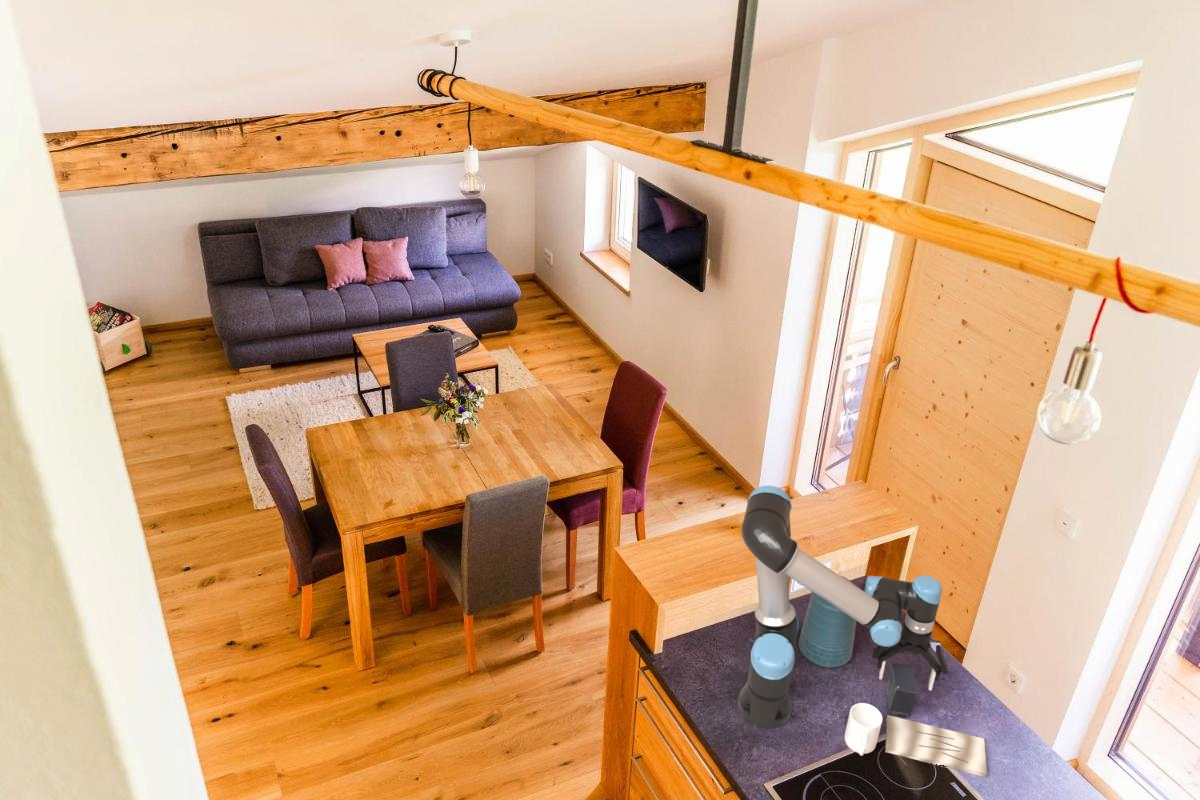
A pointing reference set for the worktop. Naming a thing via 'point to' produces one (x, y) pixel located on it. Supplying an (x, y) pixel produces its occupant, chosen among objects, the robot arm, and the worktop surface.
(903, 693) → the small box
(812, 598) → the vase
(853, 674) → the worktop surface
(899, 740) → the board
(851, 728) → the mug
